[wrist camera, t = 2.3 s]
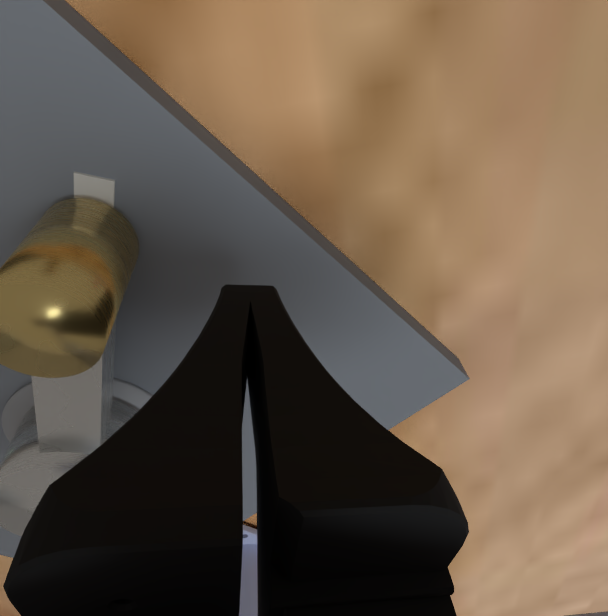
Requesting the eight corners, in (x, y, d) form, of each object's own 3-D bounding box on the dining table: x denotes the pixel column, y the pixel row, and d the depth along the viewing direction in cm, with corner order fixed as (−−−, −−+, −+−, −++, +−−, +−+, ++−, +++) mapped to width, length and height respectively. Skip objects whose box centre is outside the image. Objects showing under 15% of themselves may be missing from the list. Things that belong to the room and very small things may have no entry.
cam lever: (151, 475, 19) (133, 573, 16) (25, 468, 18) (-20, 572, 15) (187, 218, 12) (168, 305, 9) (-17, 177, 11) (-121, 261, 8)
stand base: (458, 358, 19) (471, 382, 18) (141, 565, 28) (137, 590, 27) (-23, -80, 9) (-58, -86, 8) (-284, 455, 18) (-317, 486, 17)
